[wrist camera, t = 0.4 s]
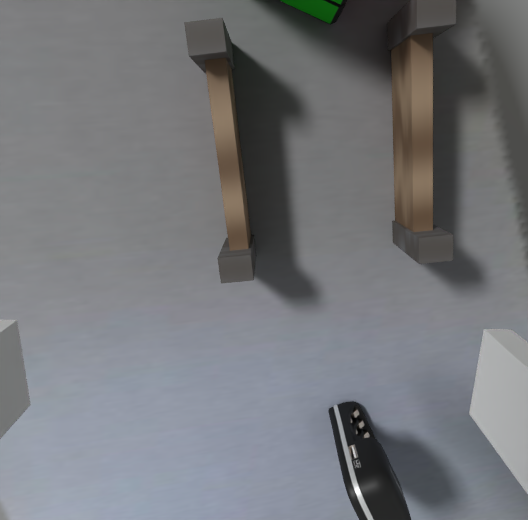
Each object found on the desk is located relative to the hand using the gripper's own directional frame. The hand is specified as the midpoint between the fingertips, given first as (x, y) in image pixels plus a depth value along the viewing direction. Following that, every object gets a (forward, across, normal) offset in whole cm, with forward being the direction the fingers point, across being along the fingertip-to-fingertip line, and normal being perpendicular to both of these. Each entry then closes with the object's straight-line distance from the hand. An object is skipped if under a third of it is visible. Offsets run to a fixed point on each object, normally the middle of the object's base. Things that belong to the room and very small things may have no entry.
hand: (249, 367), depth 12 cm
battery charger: (+27, +10, -22) cm, 36 cm away
